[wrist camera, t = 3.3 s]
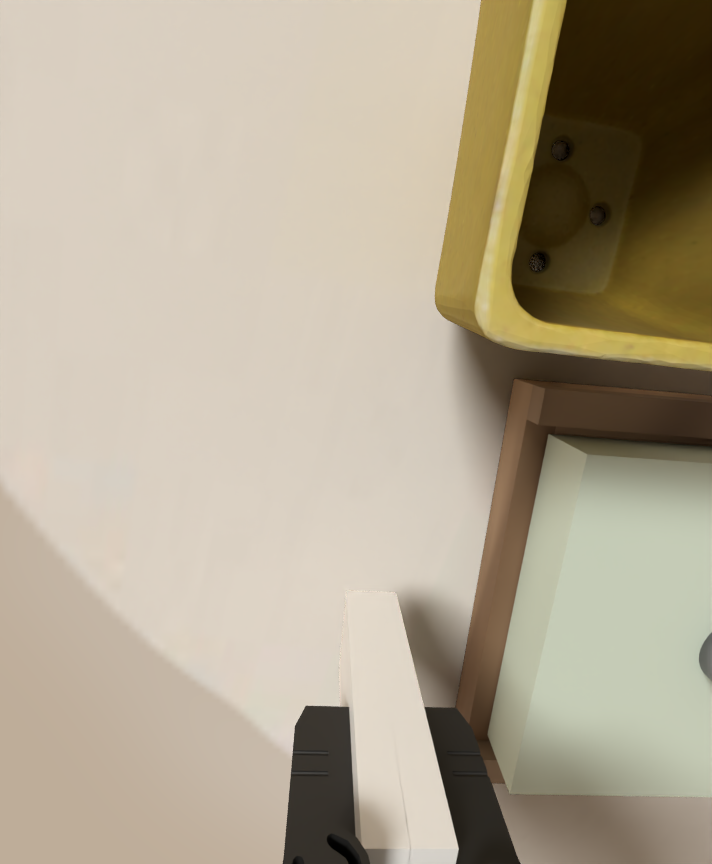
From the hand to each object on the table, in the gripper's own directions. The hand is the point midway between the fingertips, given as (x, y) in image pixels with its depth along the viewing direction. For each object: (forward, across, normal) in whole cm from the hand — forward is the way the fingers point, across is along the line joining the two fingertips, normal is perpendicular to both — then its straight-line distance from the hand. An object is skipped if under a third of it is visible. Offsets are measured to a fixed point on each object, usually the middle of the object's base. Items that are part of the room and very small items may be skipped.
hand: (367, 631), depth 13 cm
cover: (+2, -12, 0) cm, 12 cm away
